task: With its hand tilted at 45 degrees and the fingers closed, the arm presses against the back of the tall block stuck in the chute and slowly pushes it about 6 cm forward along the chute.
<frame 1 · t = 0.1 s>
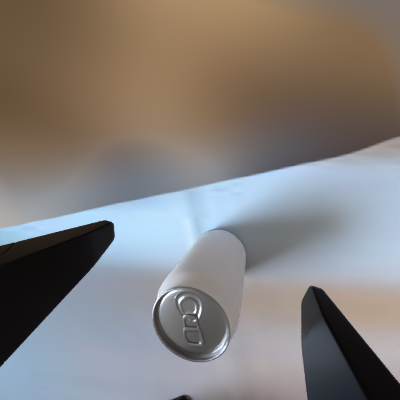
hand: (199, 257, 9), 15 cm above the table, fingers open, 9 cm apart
can: (219, 253, 25), on the table
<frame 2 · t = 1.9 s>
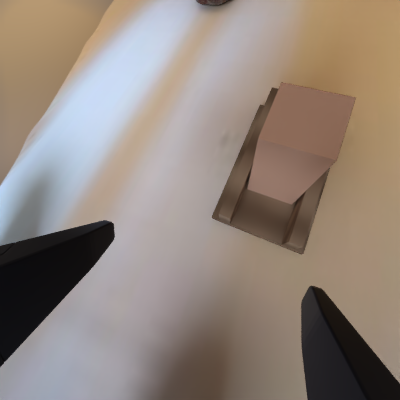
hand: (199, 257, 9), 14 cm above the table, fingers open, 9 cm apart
block: (287, 155, 19), point 6 cm above the table, slide at 0.0 cm
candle: (216, 0, 35), on the table
chute: (277, 172, 24), on the table
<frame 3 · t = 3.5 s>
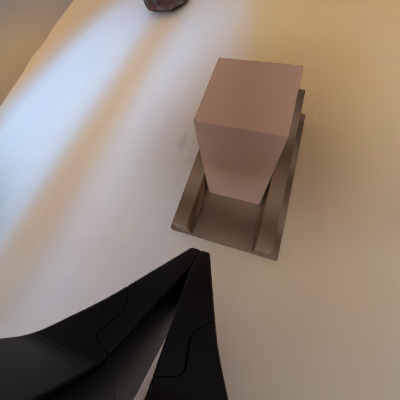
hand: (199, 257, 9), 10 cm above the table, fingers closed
block: (243, 146, 16), point 6 cm above the table, slide at 0.0 cm
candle: (168, 7, 35), on the table
chute: (241, 171, 22), on the table
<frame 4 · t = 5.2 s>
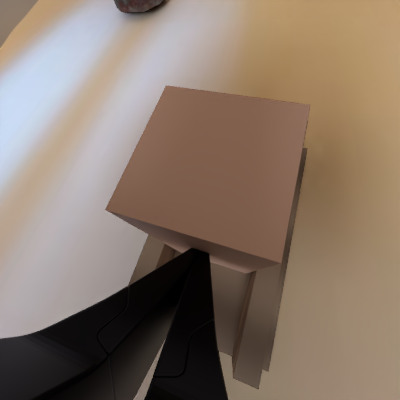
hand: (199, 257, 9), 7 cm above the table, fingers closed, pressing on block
block: (218, 208, 11), point 6 cm above the table, slide at 0.4 cm, touching gripper
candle: (144, 8, 29), on the table
chute: (223, 224, 16), on the table
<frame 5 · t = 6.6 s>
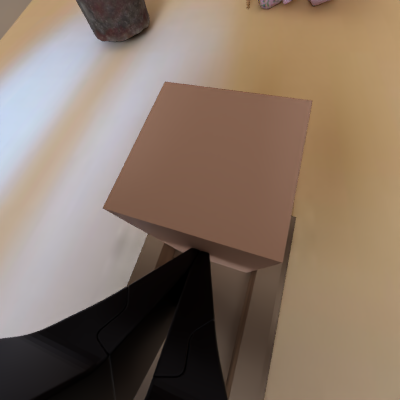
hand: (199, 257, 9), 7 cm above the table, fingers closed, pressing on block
block: (218, 206, 11), point 6 cm above the table, slide at 6.7 cm, touching gripper
purple toy figure: (308, 5, 25), on the table
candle: (125, 34, 27), on the table
chute: (199, 307, 14), on the table
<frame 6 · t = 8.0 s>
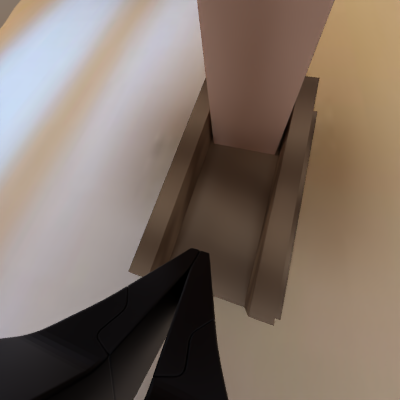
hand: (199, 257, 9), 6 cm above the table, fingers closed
block: (258, 69, 13), point 6 cm above the table, slide at 6.7 cm
chute: (232, 187, 16), on the table
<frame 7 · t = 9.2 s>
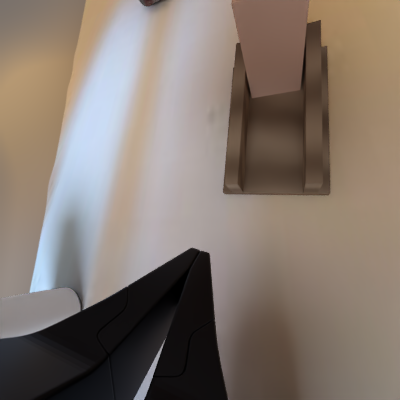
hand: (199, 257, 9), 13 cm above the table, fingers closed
can: (67, 311, 28), on the table
block: (273, 32, 19), point 6 cm above the table, slide at 6.7 cm
chute: (274, 124, 23), on the table
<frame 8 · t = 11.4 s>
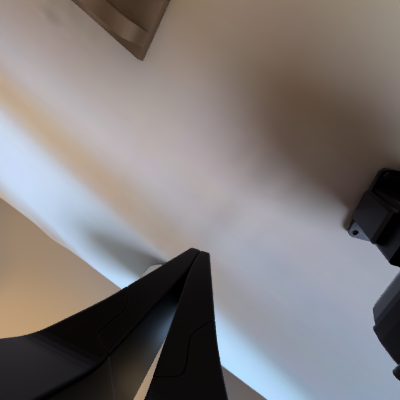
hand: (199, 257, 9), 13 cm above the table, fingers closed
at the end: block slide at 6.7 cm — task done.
